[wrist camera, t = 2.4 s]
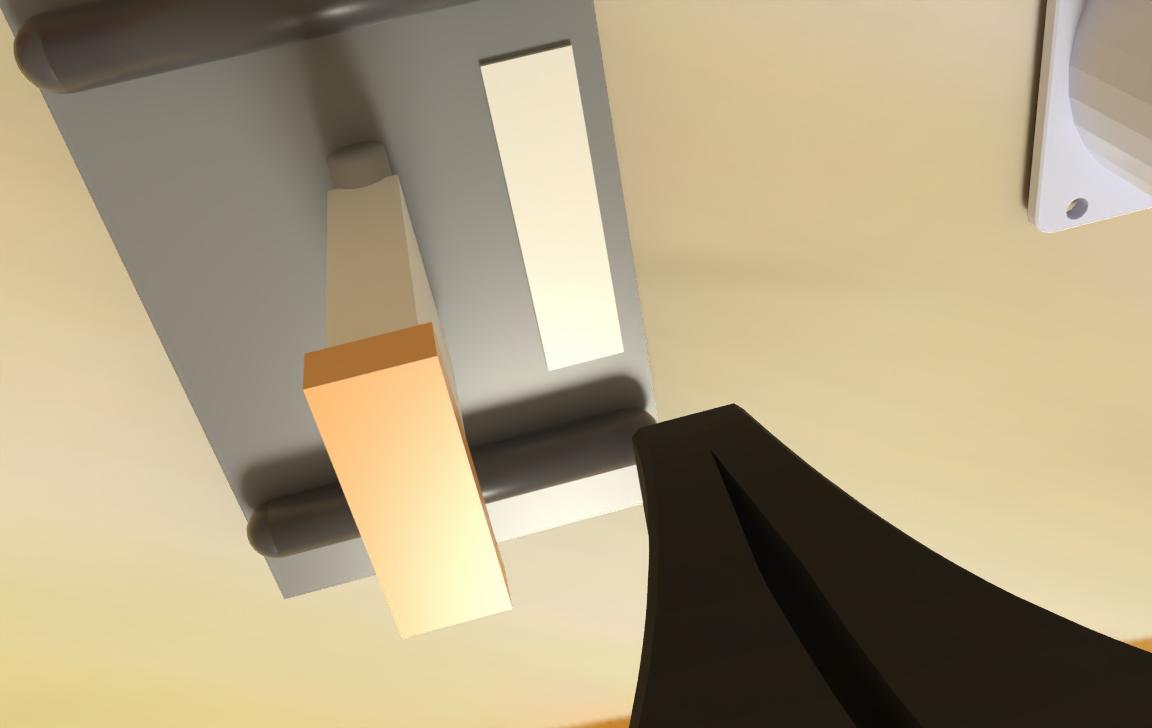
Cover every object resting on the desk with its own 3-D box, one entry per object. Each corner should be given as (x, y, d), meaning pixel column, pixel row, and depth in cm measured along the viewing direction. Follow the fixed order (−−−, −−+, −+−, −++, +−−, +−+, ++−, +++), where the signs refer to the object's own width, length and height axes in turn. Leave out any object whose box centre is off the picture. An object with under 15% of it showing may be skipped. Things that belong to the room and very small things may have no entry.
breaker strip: (532, -256, 17) (569, -248, 14) (647, 444, 25) (684, 531, 23) (-22, -139, 16) (-91, -108, 13) (287, 539, 25) (282, 639, 22)
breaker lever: (400, 132, 18) (433, 341, 12) (463, 358, 20) (515, 618, 15) (308, 154, 18) (297, 376, 12) (385, 378, 20) (405, 647, 14)
